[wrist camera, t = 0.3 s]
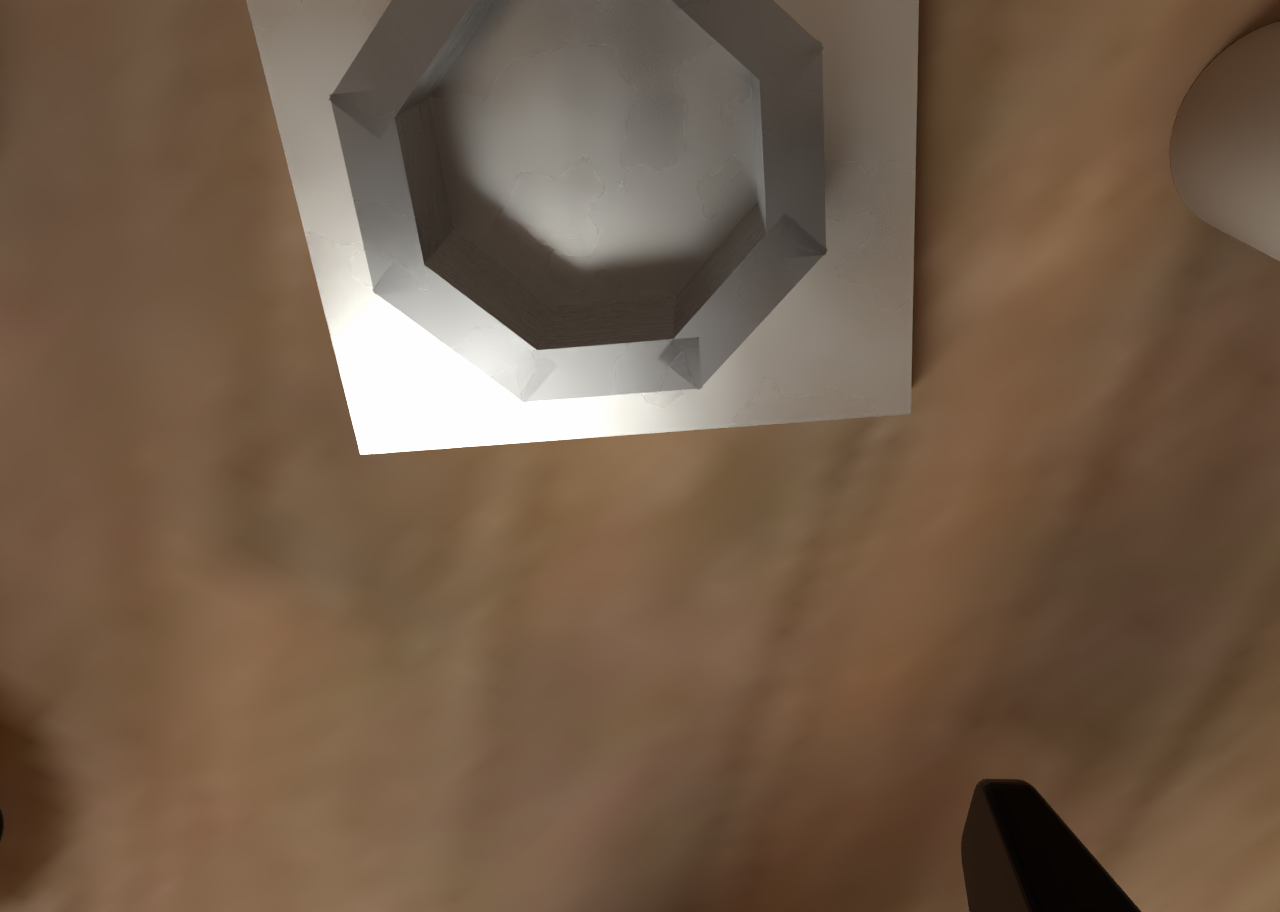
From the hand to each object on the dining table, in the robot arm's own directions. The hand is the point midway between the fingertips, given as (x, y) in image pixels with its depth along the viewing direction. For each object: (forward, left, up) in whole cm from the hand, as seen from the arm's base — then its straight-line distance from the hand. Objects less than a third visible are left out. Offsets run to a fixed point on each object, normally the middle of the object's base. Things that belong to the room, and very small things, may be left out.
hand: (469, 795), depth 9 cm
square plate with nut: (+3, 0, -14) cm, 14 cm away
